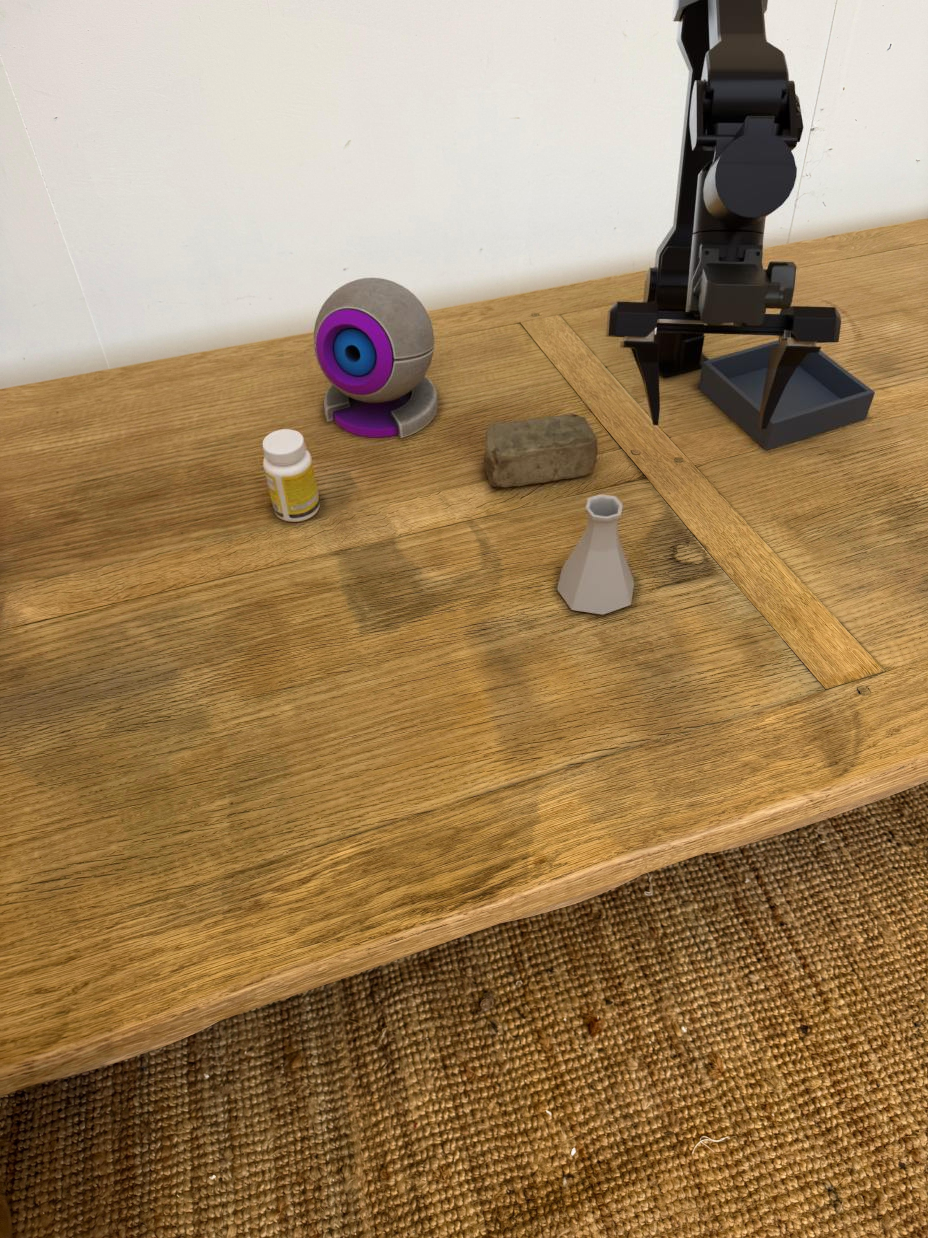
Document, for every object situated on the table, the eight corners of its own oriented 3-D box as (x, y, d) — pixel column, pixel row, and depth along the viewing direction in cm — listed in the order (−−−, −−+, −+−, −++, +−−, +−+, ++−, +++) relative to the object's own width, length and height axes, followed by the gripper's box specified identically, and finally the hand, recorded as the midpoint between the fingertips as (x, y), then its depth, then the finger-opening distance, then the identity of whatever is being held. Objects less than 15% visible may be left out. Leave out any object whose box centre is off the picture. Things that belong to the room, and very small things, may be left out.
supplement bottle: (328, 498, 97) (316, 431, 91) (308, 527, 94) (294, 460, 88) (286, 489, 98) (272, 422, 92) (265, 518, 95) (249, 451, 89)
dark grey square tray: (697, 387, 108) (702, 361, 106) (792, 360, 112) (799, 333, 109) (766, 450, 100) (773, 423, 97) (866, 419, 103) (875, 391, 101)
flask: (551, 564, 89) (555, 482, 82) (626, 558, 89) (637, 475, 82) (562, 619, 84) (568, 537, 77) (642, 613, 85) (655, 530, 77)
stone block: (598, 478, 98) (601, 439, 94) (491, 495, 96) (490, 456, 93) (582, 445, 102) (584, 406, 98) (479, 461, 100) (477, 423, 97)
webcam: (305, 426, 105) (282, 303, 94) (356, 367, 113) (340, 247, 102) (410, 450, 102) (399, 325, 91) (455, 387, 110) (450, 265, 99)
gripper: (619, 219, 71) (604, 430, 75) (875, 224, 69) (845, 439, 73) (612, 237, 81) (599, 420, 86) (833, 241, 80) (809, 428, 84)
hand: (708, 426), depth 82 cm, fingers open, 9 cm apart
